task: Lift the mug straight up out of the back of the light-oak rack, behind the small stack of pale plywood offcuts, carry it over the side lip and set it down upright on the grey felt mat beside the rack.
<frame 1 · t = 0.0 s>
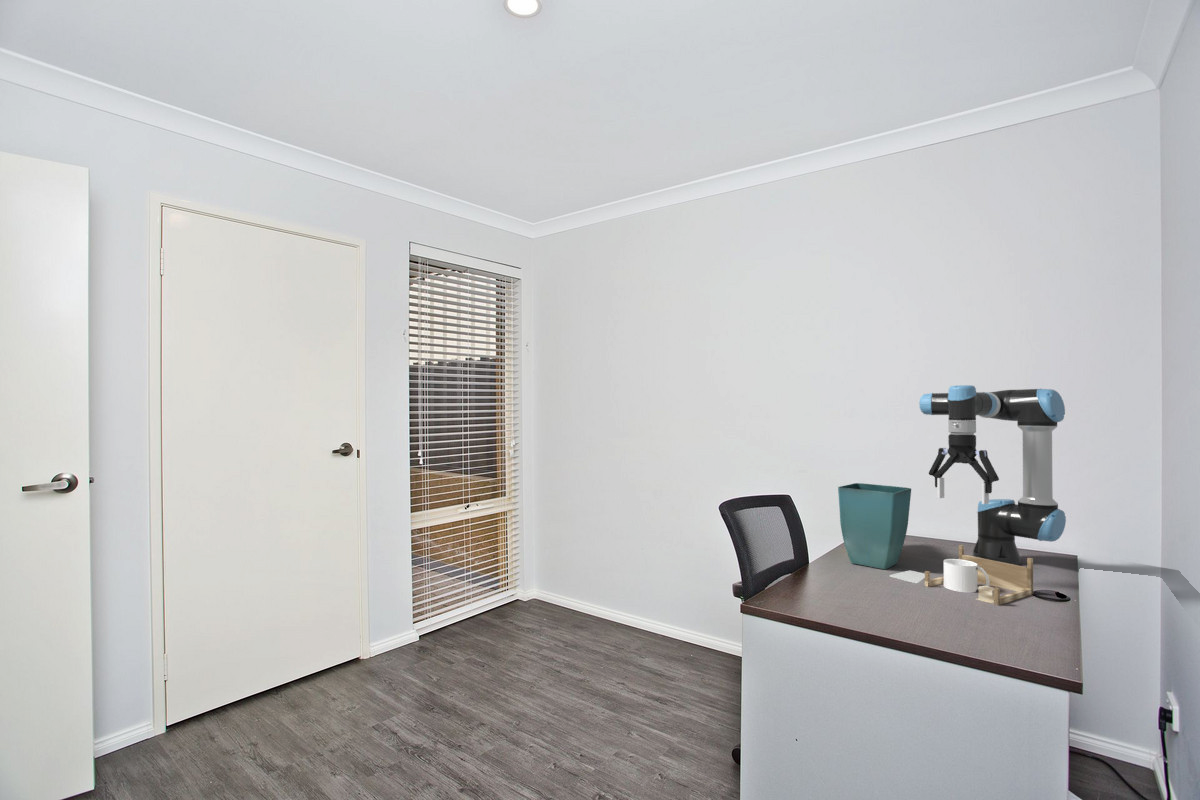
hand: (962, 500, 187), 28 cm above the table, fingers open, 13 cm apart
offcut a: (987, 606, 172), on the table, touching offcut b
rack: (977, 594, 182), on the table
flower pot: (874, 564, 218), on the table
mug: (965, 594, 183), on the table
offcut c: (988, 593, 172), point 3 cm above the table, touching offcut b
offcut b: (988, 599, 172), point 1 cm above the table, touching offcut a, offcut c
felt mat: (917, 578, 199), on the table
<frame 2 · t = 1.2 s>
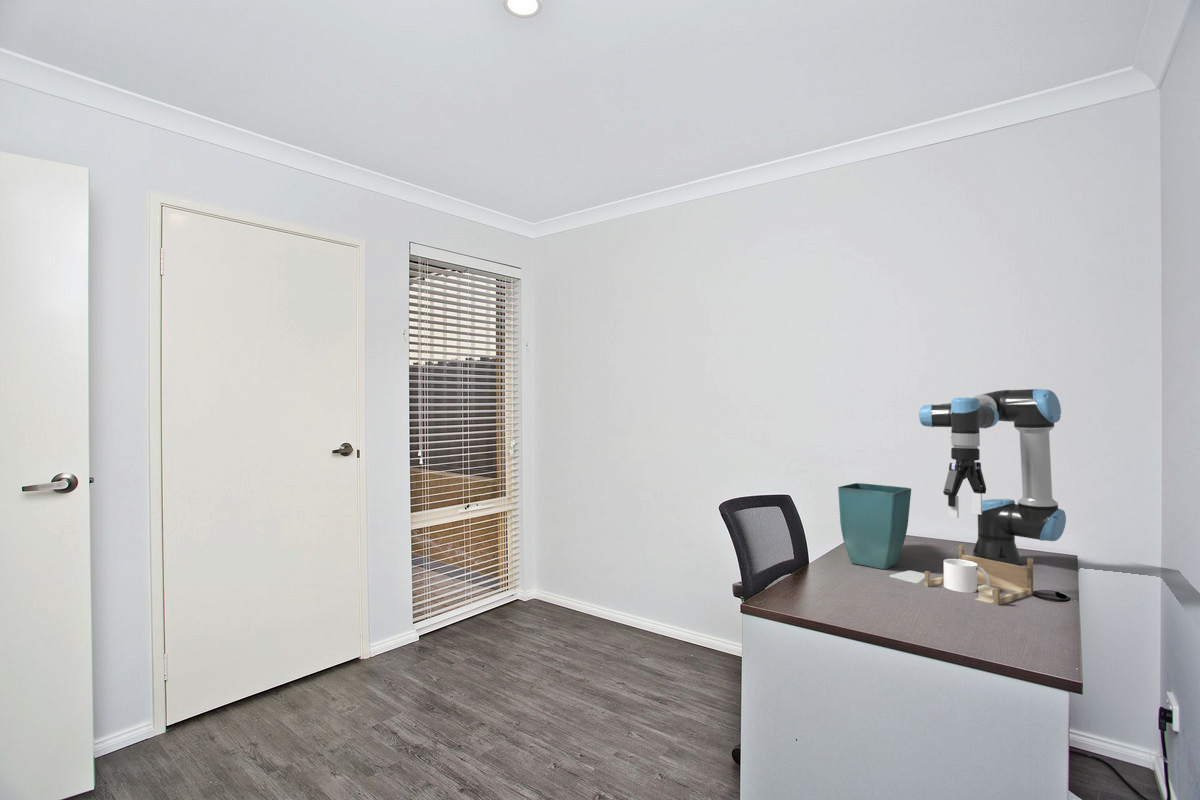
hand: (965, 515, 183), 24 cm above the table, fingers open, 13 cm apart
offcut c: (988, 592, 172), point 3 cm above the table
offcut b: (987, 599, 172), point 1 cm above the table, touching offcut a
everything else where it was.
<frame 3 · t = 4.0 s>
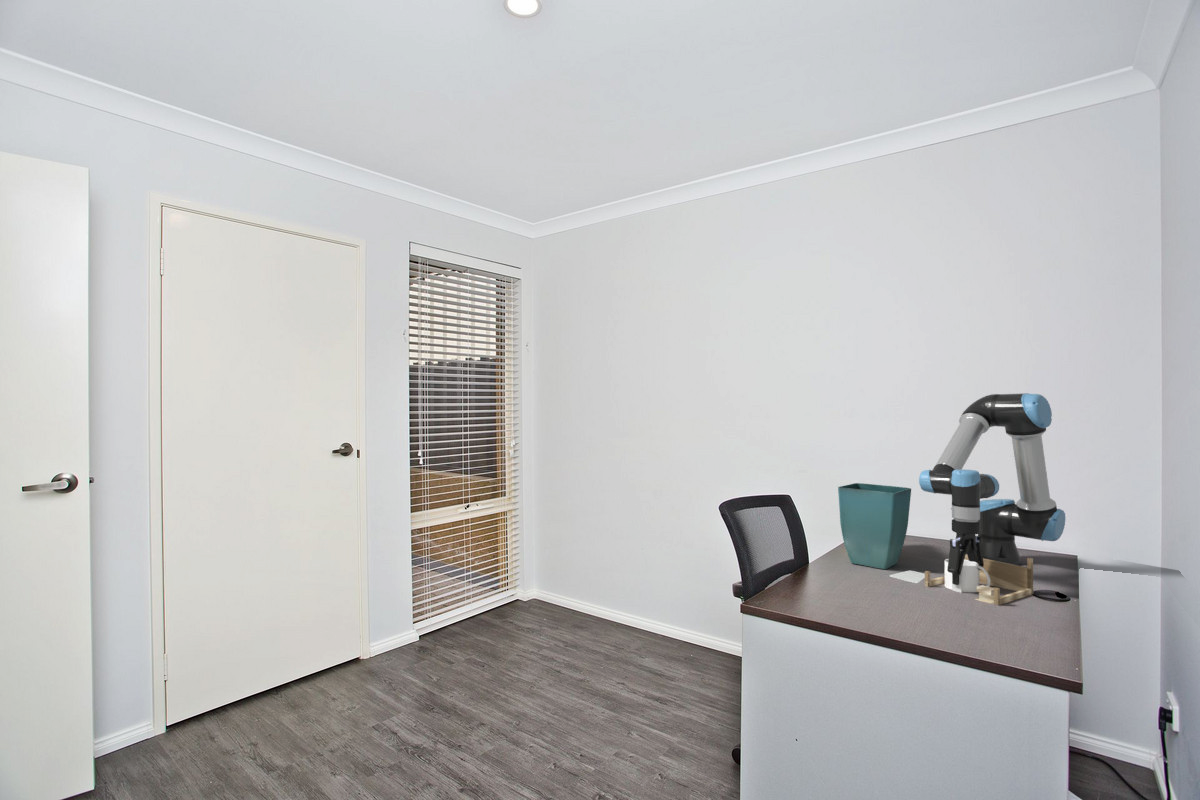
hand: (965, 592, 183), 0 cm above the table, fingers closed on mug, 9 cm apart
mug: (966, 593, 183), on the table, touching gripper
offcut c: (986, 592, 172), point 3 cm above the table, touching offcut b
offcut b: (988, 600, 172), point 1 cm above the table, touching offcut a, offcut c
everything else where it was.
when the fingers open (2 cm above the table, at t = 10.3 s): mug drops 2 cm, resting on felt mat.
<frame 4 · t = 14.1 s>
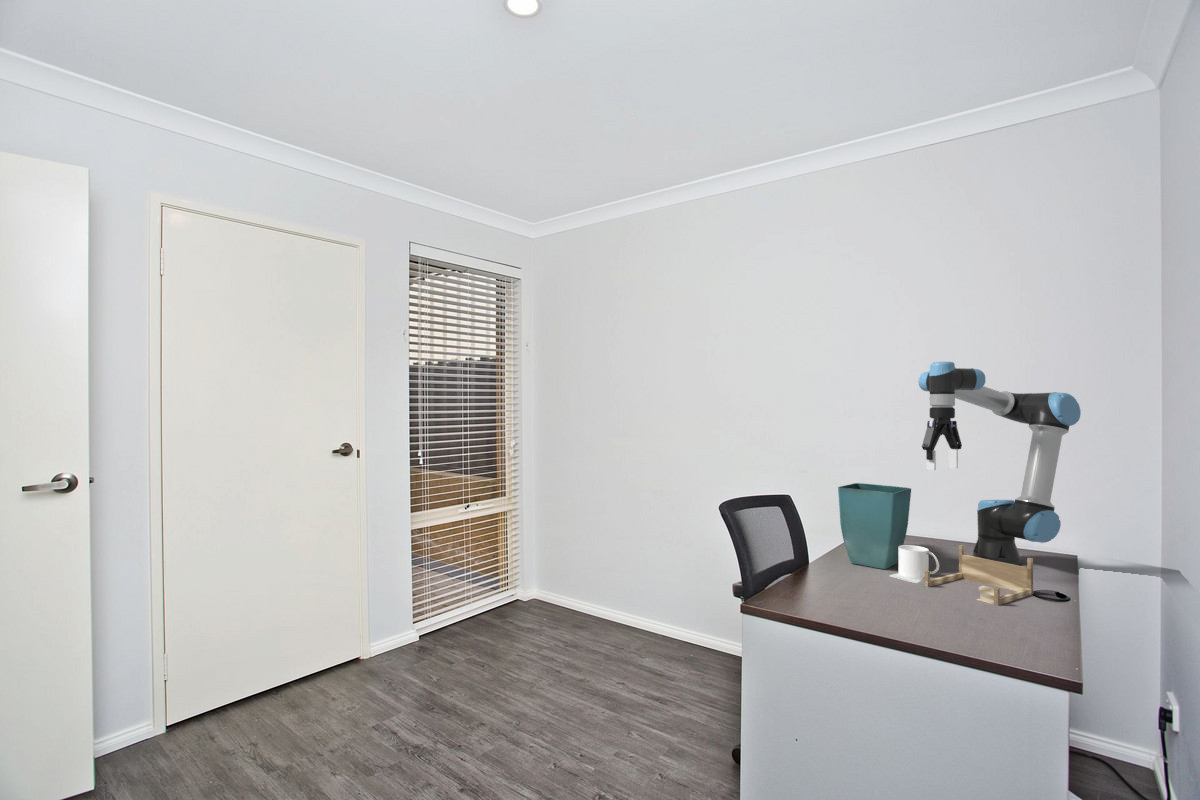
hand: (942, 468, 202), 37 cm above the table, fingers open, 13 cm apart
mug: (918, 577, 199), resting on felt mat
everything else where it was.
at the end: mug inside the target area (0.6 cm from its centre), resting on felt mat; mug tilted 0°; the gripper is holding nothing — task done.
